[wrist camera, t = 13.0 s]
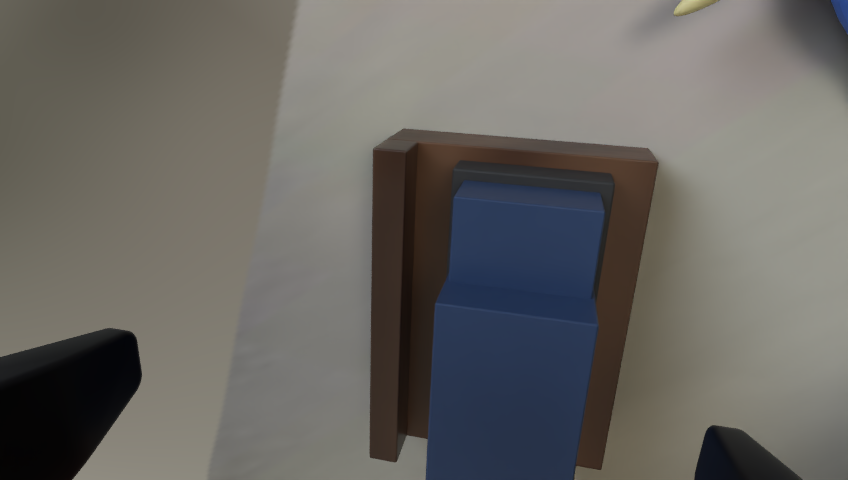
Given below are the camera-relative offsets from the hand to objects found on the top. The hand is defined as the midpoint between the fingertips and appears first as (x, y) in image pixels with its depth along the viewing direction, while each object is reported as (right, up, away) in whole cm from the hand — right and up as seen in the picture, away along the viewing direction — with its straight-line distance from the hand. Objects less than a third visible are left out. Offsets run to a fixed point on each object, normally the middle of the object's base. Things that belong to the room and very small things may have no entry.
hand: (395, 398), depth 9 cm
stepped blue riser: (+3, 0, +10) cm, 11 cm away
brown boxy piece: (+3, +1, +12) cm, 13 cm away
